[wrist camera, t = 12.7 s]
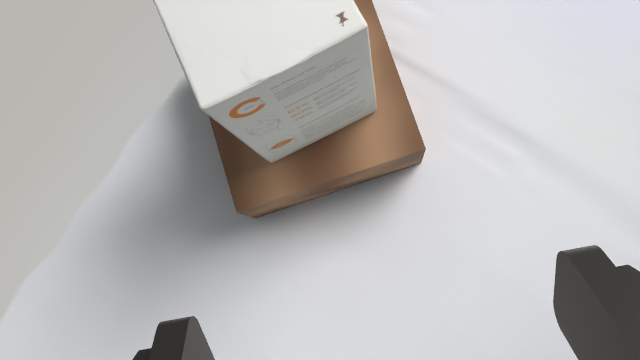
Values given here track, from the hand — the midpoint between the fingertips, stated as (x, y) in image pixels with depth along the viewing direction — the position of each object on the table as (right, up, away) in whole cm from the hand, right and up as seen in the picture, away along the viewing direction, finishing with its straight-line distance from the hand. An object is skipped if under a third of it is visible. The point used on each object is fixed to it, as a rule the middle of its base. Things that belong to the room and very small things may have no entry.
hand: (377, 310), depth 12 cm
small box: (-2, +8, +24) cm, 26 cm away
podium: (-2, +8, +29) cm, 30 cm away
